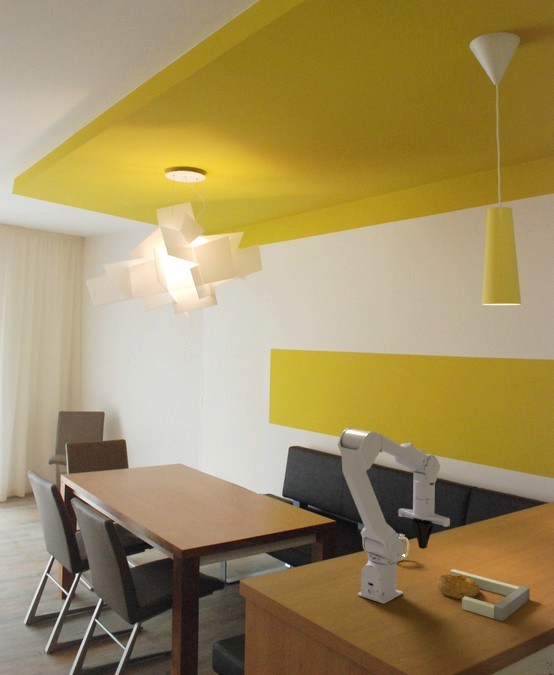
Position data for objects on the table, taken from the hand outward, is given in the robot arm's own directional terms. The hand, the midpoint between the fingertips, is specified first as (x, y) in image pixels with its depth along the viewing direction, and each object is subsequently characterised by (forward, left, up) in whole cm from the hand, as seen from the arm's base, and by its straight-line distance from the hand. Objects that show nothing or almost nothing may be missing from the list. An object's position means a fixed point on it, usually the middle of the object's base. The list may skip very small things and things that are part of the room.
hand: (422, 547), depth 168 cm
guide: (0, -15, -9) cm, 18 cm away
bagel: (0, -10, -10) cm, 14 cm away
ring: (+11, +14, -10) cm, 20 cm away
